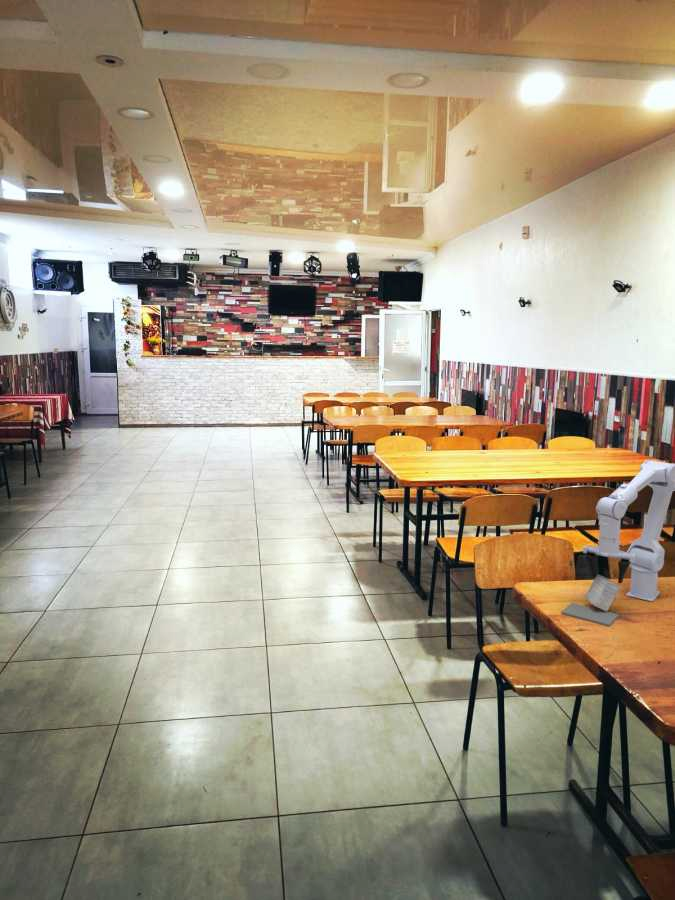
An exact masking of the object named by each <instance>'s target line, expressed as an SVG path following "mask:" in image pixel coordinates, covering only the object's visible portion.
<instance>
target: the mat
mask: <svg viewBox="0 0 675 900" xmlns="http://www.w3.org/2000/svg"><path fill="white" fill-rule="evenodd" d="M560 614H561V615H565V616H568V617H572V618H576V619H579V620H583V621H587V622H590V623H594V624H598V625H603V626H605V627H611V626H612V624H613V623H614V622H615V621H616V620H617V619H618V618H619V617H620V614H618V613H615V612H610V611H606V612H605V611H604V610H602V609H600V608H597V607H596V608H595V607H591V606H587V605H584V604H579V603H575V602H570V603H569V604H568V605H567V606H566V607H564V609H563V610H561V612H560Z"/></svg>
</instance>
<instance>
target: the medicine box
mask: <svg viewBox="0 0 675 900" xmlns="http://www.w3.org/2000/svg"><path fill="white" fill-rule="evenodd" d="M620 587H621V586H619V585H618V584H616V583H615V582H614V581H612V580H611V579H609V578H607V577H605V576H603V575H601V574H597V576H596V577H595V578H594V580H593V581H592V583H591V585H590V587H589V589H588V590H587V592H586V594H585V595H584V598H585V599H586V600H587V601H588V602H589V603H591V604H592V605H593V606H594V607H596V608H597V609H600V610H603V611H605V612H606V611H607V612H609V611H608V610H609V609H610V607H611V605H612V603H613V601H614V600H615V598H616V596H617V594H618V593H619V590H620V589H621V588H620Z"/></svg>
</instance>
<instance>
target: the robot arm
mask: <svg viewBox="0 0 675 900" xmlns="http://www.w3.org/2000/svg"><path fill="white" fill-rule="evenodd" d="M647 486H649V487H650V488H652V492H653V493H652V497H651V498H650V499H651V500H650V504H649V507H648V511H647V513H646V517H645V521H644V523H643V527H642V531H641V534H640V537H639V538H636V539H634V540H632V541H631V544H630V546H629V548H628V549H627V550H626V551H623V550H620V540H621V538H620V537H621V523H622V522H621V520H622V518H623V517H624V516H625V515H626V511H627V510H628V506H630V504H632V503H633V502H634V501H635V500H636V499H638V496H639V495H638V492H640V491H642V489H644V488H645V487H647ZM674 491H675V463H673V462H672V463H668V462H661V461H655V460H652V459H646V460H645V461H644V462H642V463H641V464H640V467H639V472H638V473H637V474H636V475H635V476H634V478H632V480H631V481H630V482H629V483H623V484H622V483H621V484H620V485H619V487H618V488H616V490H614V491H613V492H612V493H611V494H610V495H608V497H606V496H604V497H602V498H600V499H599V500H598V502H597V503H596V506H595V510H596V513H597V520H598V521H599V529H598V530H599V531H598V534H599V535H598V546H595V545H594V546H591V545H584V546H582V547H583V548H582V550H583V551H582V553H583V554H585V559H586V561H587V563H588V566H589V568H590V572H591V577H592V578H593V579H595V578H596V576H597V575H598V560H599V556H602V557H606V558H612V559H617V560H619V561H618V562H617V564H618V579H617V584H622V583H623V582H624V577H625V575H626V572H627V570H628V569H629V568H631V573H630V575H631V576H630V588H629V591H628V592H627V593H625V596H627V597H630V598H635V599H640V600H643V601H644V600H645V601H648V602H654V601H655V599H656V598H657V597H658V596H659V595H660V594H661V591H660V590H658V580H659V579H658V576H659V575H658V572H660V571H661V570H662V568H663V566H664V564H665V552H666V550H665V549H664V547H663V546H662V545H661V544H660V542H659V540H660V537H661V533H662V531H663V530H662V529H663V526H664V523H665V519H666V517H667V512H668V508H669V505H670V503H671V498H672V495H673V492H674Z"/></svg>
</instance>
